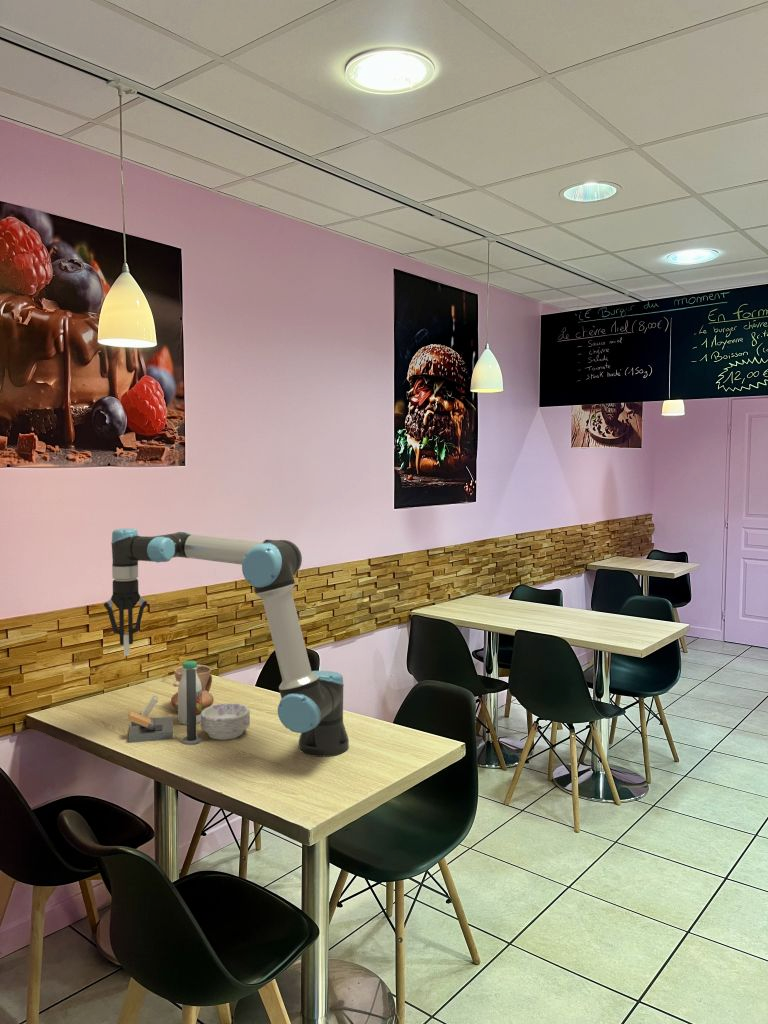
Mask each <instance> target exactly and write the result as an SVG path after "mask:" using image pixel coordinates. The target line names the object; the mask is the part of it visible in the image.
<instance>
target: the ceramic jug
mask: <svg viewBox="0 0 768 1024" xmlns="http://www.w3.org/2000/svg"><path fill="white" fill-rule="evenodd" d="M196 672H197V675H198V677H199V679H200V682H201V686H202V711H203V710H204V709H205V708H207V707H210V706H213V705H214V704H213V703H214V701H215V699H214V696H213V694H212V693H210V690H211V686H212V682H213V675H212V674H211V672H212V668H211V667H210V666H208V665H205V664H197V669H196ZM173 673H174V678H175V680H176V681H175V682H174V683H172V686H173V687H174V688H175V687H177V688H178V686H179V682H180V680H181V678H182V675H183V665H182V666H181V665H180V666H178V667H176V668H175V669H174V671H173ZM170 705H171V706H172V708H173V709H175V710H176V711H178V691H177V692H176V693H175V694H173V695H172V697H171V699H170Z"/></svg>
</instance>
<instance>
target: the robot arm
mask: <svg viewBox="0 0 768 1024" xmlns="http://www.w3.org/2000/svg"><path fill="white" fill-rule="evenodd" d="M301 552H302V551H301V550H300V548H299V547H298V546H297V545H296V544H295V543H293V542H292V541H290V540H285V539H279V540H278V539H263V541H253V540H243V539H235V538H225V537H217V536H208V535H198V534H191V533H190V532H186V531H184V532H183V531H178V532H174V533H167V534H161V535H160V534H159V535H154V536H146V535H145V536H141V535H139V533H138V530H137V529H135V528H117V529H114V530H113V531H112V532H111V557H112V562H111V564H112V566H111V567H112V568H111V570H112V571H111V572H112V573H111V575H112V576H111V577H112V579H113V580H112V595H111V597H110V599H109V600H107V601H104V603H103V606H104V607H105V608H104V609H106V610H107V613H108V614H107V615H108V617H109V620H110V625H111V628H112V632H113V633H114V634H118V635H119V645H120V646H123V657H128V656H130V645H133V643H134V633H135V634H136V633H138V632H139V631H140V627H141V621H142V618H143V614H144V610H145V608H146V607H147V605H148V600H147V599H143V598H142V597H141V595H140V593H139V592H140V591H139V579H138V577H139V561H140V562H154V563H165V562H167V563H168V562H170V560H171V559H172V558H173V559H174V558H185V559H192V560H201V561H209V562H219V563H225V564H226V563H227V564H234V565H235V564H236V565H241V572H242V575H243V578H244V579H245V581H246V582H247V583H249V585H250V586H253V590H254V594H255V596H257V597H259V598H260V599H261V600H262V603H263V607H264V611H265V615H266V619H267V623H268V628H269V632H270V635H271V639H272V640H271V641H272V643H273V647H274V648H273V649H274V651H275V656H276V659H277V663H278V667H279V668H278V669H279V672H280V676H281V683H280V684H279V686H278V691H279V694H280V698H281V699H280V701H279V703H278V705H277V716H278V719H279V721H280V722H281V724H282V725H283V727H285V728H286V729H288V730H290V731H291V732H292V733H296V734H300V735H299V739H298V750H299V751H300V752H301V753H303V754H306V755H308V756H313V757H330V756H331V757H332V756H335V755H336V756H337V755H340V754H342V753H344V752H346V751H348V750H349V748H350V747H349V746H350V745H349V743H350V739H349V735H348V733H347V730H346V727H345V723H344V686H345V684H344V678H343V677H344V676H343V675H342V674H341V673H339V672H337V671H329V670H312V667H311V663H310V660H309V657H308V651H307V648H306V644H305V643H306V642H305V641H304V636H303V632H302V631H303V630H302V628H301V624H300V620H299V616H298V615H299V614H298V612H297V609H296V604H295V600H294V596H293V592H292V591H293V589H294V587H295V586H296V582H295V577H294V576H295V575H296V574H297V573H298V571H299V570H300V568H301V566H302V561H303V557H302V553H301ZM138 602H139V603H138ZM137 604H138V606H139V609H138V615H137V618H136V622H135V626H134V621H133V620H134V616H133V615H134V608H135V607H136V605H137ZM113 605H114V606H115V607H116V608H117V609H118V615H119V616H118V618H119V619H118V621H119V628H118V625H117V621H116V617H115V614H114V610H113ZM125 610H127V618H128V619H127V620H128V627H127V628H128V632H125Z"/></svg>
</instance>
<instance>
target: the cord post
mask: <svg viewBox="0 0 768 1024" xmlns="http://www.w3.org/2000/svg"><path fill="white" fill-rule="evenodd" d="M186 691H187V725H186V737H183V738H181V743H182V744H183V745H187V746H191V745H192V746H193V745H197V744H199V743H201V742H202V740H203V739H202V737H201V736H199V735H197V724H196V670H195V669H188V670H186Z"/></svg>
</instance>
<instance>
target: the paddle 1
mask: <svg viewBox="0 0 768 1024" xmlns="http://www.w3.org/2000/svg"><path fill="white" fill-rule="evenodd" d="M158 702H159V696H157V695H155V694H153V695H152V697H151V698H150V700H149V701H148V703H147V705H146V706H145V707H144V709H143V711H142V712H141V713H139V715H142V716H144V717H147V718H148V716H149V715H150V714H151V712H152V711H153V709H154V708H155V706H156V705H157V704H158Z"/></svg>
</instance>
